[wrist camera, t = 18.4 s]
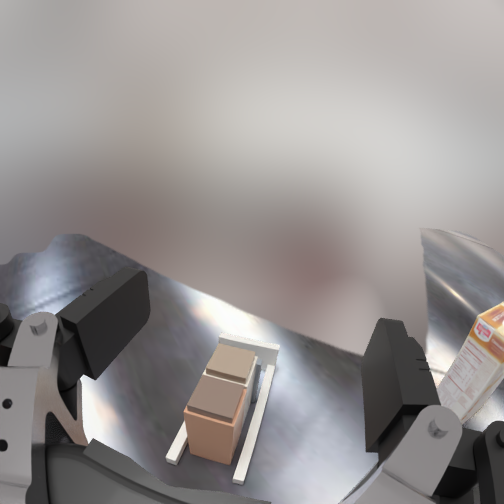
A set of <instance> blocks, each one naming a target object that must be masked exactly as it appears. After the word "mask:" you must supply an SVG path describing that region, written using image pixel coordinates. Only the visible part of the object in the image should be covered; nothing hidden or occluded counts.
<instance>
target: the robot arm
mask: <svg viewBox="0 0 504 504" xmlns="http://www.w3.org/2000/svg"><path fill="white" fill-rule="evenodd" d="M149 315H150V300H149V290H148V279H147V274H146V272H145V271H142V270H138V269H134V268H130V267H124V268H122V269H121V270H119V271H118V272H117V273H115V274H114V275H113V276H111V277H109V278H106V279H104V280H101V281H99V282H98V283H96V284H95V285H94V286H92V287H91V288H90V290H87V291H86V292H84V293H83V294H82V296H81V295H80V296H79V297H78V298H76V299H75V300H74V301H72V302H71V303H70V304H68V305H67V306H66V307H64V308H63V309H62V310H61V311H59V312H58V313H57V314H55V315H54V314H52V313H49V312H38V313H34V314H32V315H30V316H28V317H27V318H25V319H24V320H23V321H21V320H16V319H12V316H11V313H10V310H9V308H8V306H7V305H5V304H2V303H0V504H271V502H268V501H262V500H257V499H252V498H247V497H242V496H238V495H233V494H229V493H225V492H220V491H206V490H195V489H187V488H179V487H173V486H169V485H167V484H165V483H163V482H162V481H160V480H159V479H157V478H156V477H155V476H153V475H152V474H150V473H149V472H148V471H146V470H145V469H144V468H142V467H141V466H140V465H138V464H137V463H136V462H134V461H133V460H132V459H131V458H129V457H128V456H125V455H123V454H121V453H119V452H117V451H116V450H114V449H112V448H110V447H108V446H106V445H104V444H103V443H101V442H99V441H97V440H95V439H94V438H93V439H92V440H91V442H90V443H89V444H88V442H87V439H86V436H85V434H84V430H83V420H82V384H81V381H80V378H81V376H82V375H83V374H84V375H86V376H88V377H90V378H92V379H94V380H97V378H98V377H99V376H100V375H101V374H102V373H103V371H104V370H105V369H106V368H107V367H108V366H109V365H110V363H111V362H112V361H113V360H114V359H115V358H116V357H117V355H118V354H119V353H120V352H121V351H122V350H123V349H124V347H125V346H126V345H127V344H128V343H129V342H130V341H131V340H132V338H133V337H134V336H135V335H136V334H137V333H138V332H139V331H140V330H141V328H142V327H143V326H144V325H145V324H146V322H147V321H148V318H149ZM429 370H430V368H429V365H428V362H426V357H425V354H424V351H423V349H422V347H421V346H420V345H419V344H418V343H417V341H416V340H415V339H414V338H413V337H408V335H407V332H406V329H405V327H404V324H403V322H402V321H399V320H392V319H385V318H380V319H379V320H378V322H377V324H376V327H375V329H374V332H373V334H372V337H371V339H370V342H369V344H368V346H367V349H366V351H365V354H364V356H363V360H362V366H361V375H362V386H363V399H364V415H365V440H366V452H375V453H378V457H379V460H378V461H377V462H376V463H375V464H374V466H373V467H372V468H371V469H370V470H369V471H368V473H367V474H366V475H365V476H364V477H363V478H362V479H361V480H360V481H359V483H358V484H357V485H356V486H355V487H354V488H353V489H352V490H351V491H350V492H349V493H348V494H347V495H346V496H345V497H344V498H343V499H342V500H341V501H340V502H339V503H338V504H474V497H473V489H474V488H475V487H477V486H478V485H479V491H480V502H481V504H504V422H503V421H494V422H492V423H491V424H490V425H489V426H488V427H487V428H486V429H485V430H484V431H483V432H479V431H475V430H471V429H466V428H463V427H462V425H461V422H460V419H459V418H458V416H457V415H456V414H455V413H454V412H453V411H452V410H450V409H449V408H447V407H444V406H441V403H440V400H439V396H438V393H437V390H436V386H435V383H434V380H433V377H432V374H431V372H429Z"/></svg>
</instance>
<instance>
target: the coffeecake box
mask: <svg viewBox="0 0 504 504" xmlns="http://www.w3.org/2000/svg"><path fill="white" fill-rule="evenodd" d="M503 378H504V302H503V303H501V304H499V305H497V306H495V307H493V308H491V309H490V310H488V311H486V312H484V313H482V314H480V315H478V316H477V318H476V321H475V323H474V325H473V327H472V329H471V331H470V333H469V335H468V337H467V339H466V341H465V342H464V344H463V346H462V348H461V350H460V352H459V353H458V355H457V357H456V359H455V360H454V362H453V364H452V365H451V367H450V369H449V370H448V372H447V374H446V375H445V377H444V378H443V380H442V381H441V383H440V384H439V386H438V387H437V389H436V390H437V393H438V396H439V400H440V403H441V406H444V407H447V408H449V409H450V410H452V411H453V412H454V413H455V414H456V415H457V416H458V418H459V419H460V422H461V425H463V424H464V423H465V422H466V421H467V420H468V419H470V418H471V417H472V416H473V415H474V414H475V413H476V412H477V411H478V410H479V409H480V408H481V407H482V406H483V405H484V404H485V402H486V401H487V400H488V398H489V397H490V396H491V395H492V393H493V392H494V391H495V389H496V388H497V386H498V385H499V384H500V382H501V381H502V380H503Z"/></svg>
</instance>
